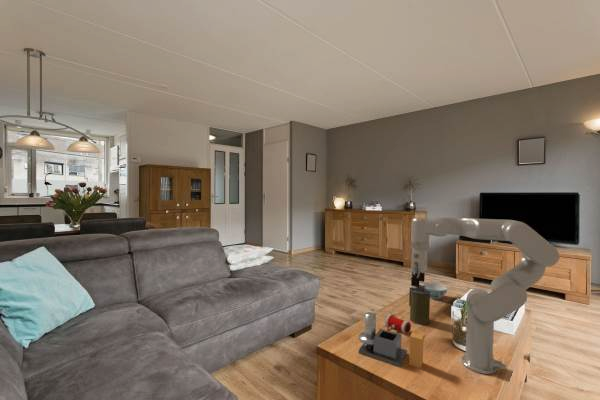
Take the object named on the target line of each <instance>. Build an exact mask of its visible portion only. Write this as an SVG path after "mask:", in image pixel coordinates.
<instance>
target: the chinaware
mask: <svg viewBox="0 0 600 400" xmlns="http://www.w3.org/2000/svg"><path fill="white" fill-rule="evenodd" d="M423 286H426V287H425V289H428V290H429V291H430V299H432V300H440V299H441V298H443V297H444V296H445V295H446V294H447V291H448V288H447V287H446V286H445V285H442V284H438V283H434V282H433V283H431V282H429V283H424V284H423Z"/></svg>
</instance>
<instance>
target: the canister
mask: <svg viewBox="0 0 600 400" xmlns="http://www.w3.org/2000/svg"><path fill="white" fill-rule="evenodd" d="M423 285H424V284H423ZM423 285H422V284H419V287H414V286H411V287H410V288H409V296H408V298H409V299H408V301H409V302H408V303H409V305H408V306H409V307H410V309H409V322H411V323H414V324H416V325H422V326H425V325H426V326H427V325H429V324H430V310H431V309H430V307H431V298H430V291H429V290H428V289H425V287H426V286H423Z"/></svg>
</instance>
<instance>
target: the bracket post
mask: <svg viewBox="0 0 600 400" xmlns="http://www.w3.org/2000/svg"><path fill="white" fill-rule="evenodd" d="M376 327H377V314H376V313H375V312H369V311H367V312H365V314H364V331H363V332H359V334H358V340H359V341H360V342H361V344H362V343H363V344H362V345H361V347H359V348H358V354H361V355H363V356H366V357H370V358H371V359H375V360H379V361H381V362H385V363H387V364H391V365H394V366H396V367H399V368H401V367H402V365H403V362H404V360H405V359H406V356H407V355H408V350H407V349H404V348H402V334H401V333H399V332H398V333H397V332H394V331H392V330H390V331H387V330H386V329H383V328H380V329H379V330H378V331H376V330H377V328H376Z"/></svg>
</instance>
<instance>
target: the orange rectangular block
mask: <svg viewBox="0 0 600 400" xmlns="http://www.w3.org/2000/svg"><path fill="white" fill-rule="evenodd" d="M424 337H425V335H424V334H421V333H418V332H413V331H412V332H411V333H410V336H409V362H408V364H409V366H412V367H415V368H417V369H422V368H423V367H422V366H423V363H424V339H425V338H424Z"/></svg>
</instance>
